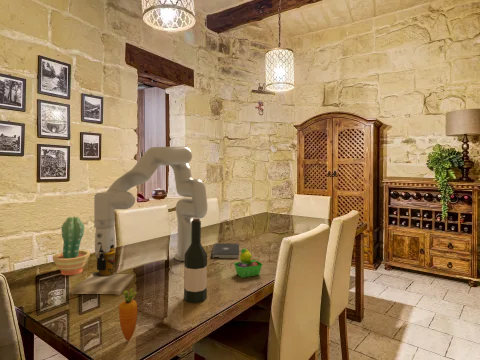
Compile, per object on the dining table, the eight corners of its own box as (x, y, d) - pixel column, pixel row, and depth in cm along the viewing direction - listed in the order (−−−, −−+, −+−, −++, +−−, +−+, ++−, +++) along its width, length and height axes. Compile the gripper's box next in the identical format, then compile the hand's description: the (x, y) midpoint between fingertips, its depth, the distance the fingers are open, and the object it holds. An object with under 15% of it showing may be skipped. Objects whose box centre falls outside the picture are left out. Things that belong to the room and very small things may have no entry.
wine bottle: (185, 293, 121) (185, 216, 120) (206, 293, 122) (207, 216, 120) (183, 303, 113) (183, 220, 111) (206, 303, 114) (207, 220, 112)
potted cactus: (98, 268, 148) (97, 215, 147) (70, 279, 134) (70, 221, 132) (72, 264, 153) (72, 213, 152) (43, 275, 139) (42, 218, 137)
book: (214, 248, 189) (214, 243, 188) (238, 248, 189) (238, 243, 189) (211, 259, 167) (211, 253, 167) (239, 259, 167) (239, 254, 167)
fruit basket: (240, 279, 138) (241, 253, 137) (232, 272, 146) (232, 248, 145) (263, 275, 143) (263, 250, 142) (253, 269, 151) (253, 246, 150)
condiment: (117, 275, 127) (117, 245, 126) (94, 279, 122) (94, 248, 122) (113, 269, 133) (113, 241, 132) (91, 273, 128) (91, 244, 128)
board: (133, 277, 138) (133, 274, 137) (119, 294, 120) (119, 290, 119) (92, 277, 137) (92, 273, 137) (71, 294, 119) (71, 290, 119)
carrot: (130, 334, 93) (130, 284, 92) (141, 339, 90) (141, 288, 89) (115, 341, 88) (114, 289, 88) (126, 348, 86) (125, 294, 85)
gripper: (105, 227, 118) (105, 274, 119) (121, 219, 136) (121, 260, 137) (85, 227, 118) (85, 274, 119) (103, 219, 135) (103, 260, 136)
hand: (104, 266), depth 128 cm, fingers closed on condiment, 6 cm apart
